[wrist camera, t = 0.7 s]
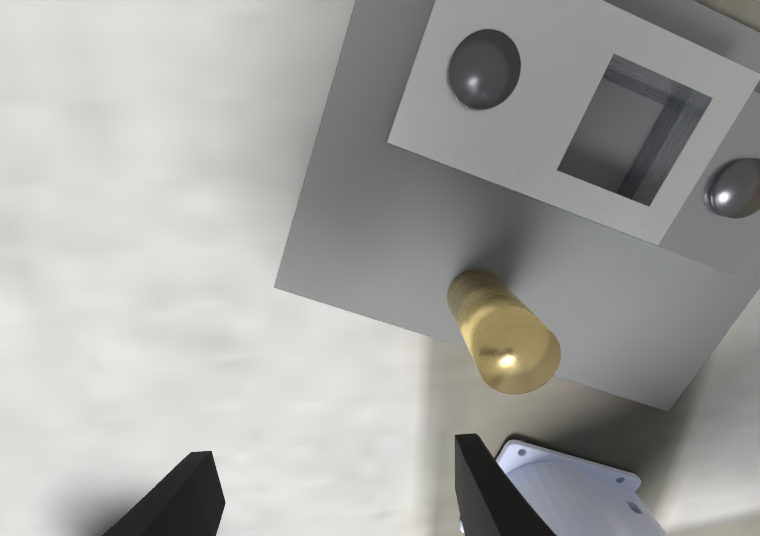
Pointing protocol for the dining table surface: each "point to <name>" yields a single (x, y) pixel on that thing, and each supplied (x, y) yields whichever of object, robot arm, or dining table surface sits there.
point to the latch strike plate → (567, 106)
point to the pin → (502, 333)
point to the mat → (508, 220)
